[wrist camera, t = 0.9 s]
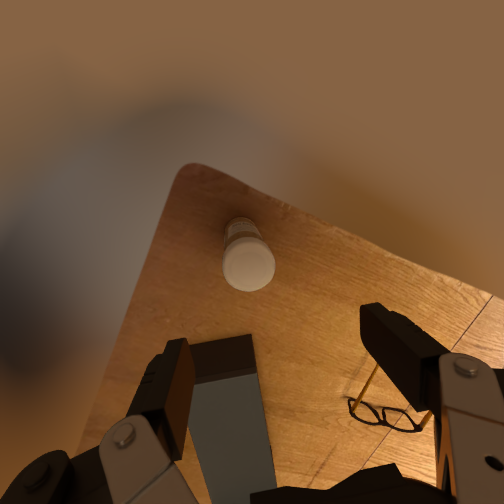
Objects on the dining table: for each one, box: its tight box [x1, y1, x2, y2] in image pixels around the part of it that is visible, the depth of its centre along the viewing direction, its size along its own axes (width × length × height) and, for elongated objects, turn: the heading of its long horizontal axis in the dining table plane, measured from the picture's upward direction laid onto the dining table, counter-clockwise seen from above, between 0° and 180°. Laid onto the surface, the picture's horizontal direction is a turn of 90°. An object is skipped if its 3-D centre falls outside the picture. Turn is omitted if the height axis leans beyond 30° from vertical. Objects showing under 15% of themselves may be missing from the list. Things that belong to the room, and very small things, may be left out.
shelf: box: [188, 334, 277, 504], centre depth 37 cm, size 26×10×11 cm, turn 8°
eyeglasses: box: [348, 363, 433, 433], centre depth 42 cm, size 14×14×4 cm
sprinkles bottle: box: [222, 217, 275, 292], centre depth 27 cm, size 5×5×13 cm
